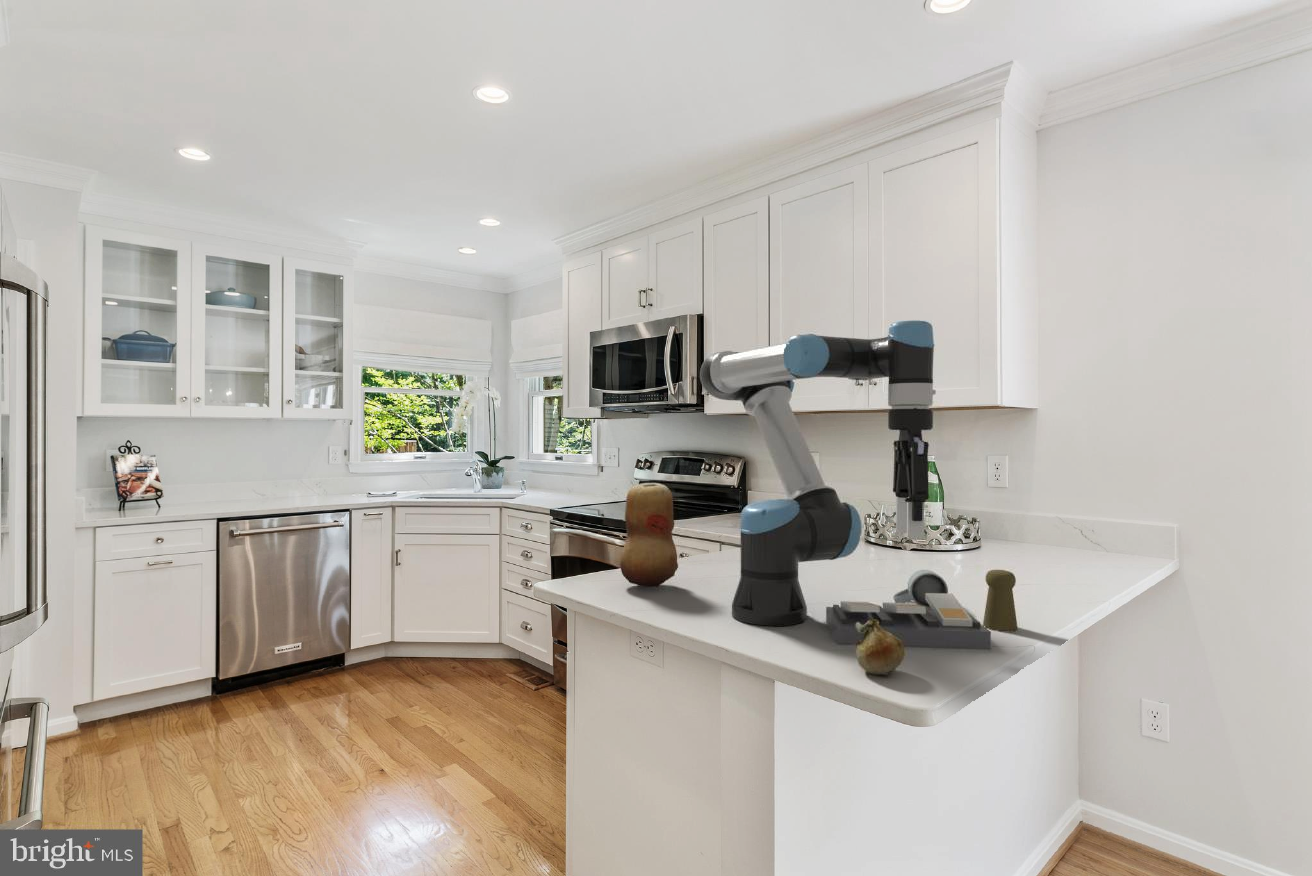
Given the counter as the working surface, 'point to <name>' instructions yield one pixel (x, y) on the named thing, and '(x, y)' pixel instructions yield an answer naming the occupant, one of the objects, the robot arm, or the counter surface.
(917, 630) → the rocker switch panel
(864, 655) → the onion
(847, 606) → the left rocker
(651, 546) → the butternut squash
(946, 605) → the right rocker
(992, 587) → the cork
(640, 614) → the counter surface
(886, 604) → the block
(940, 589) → the ceramic mug
